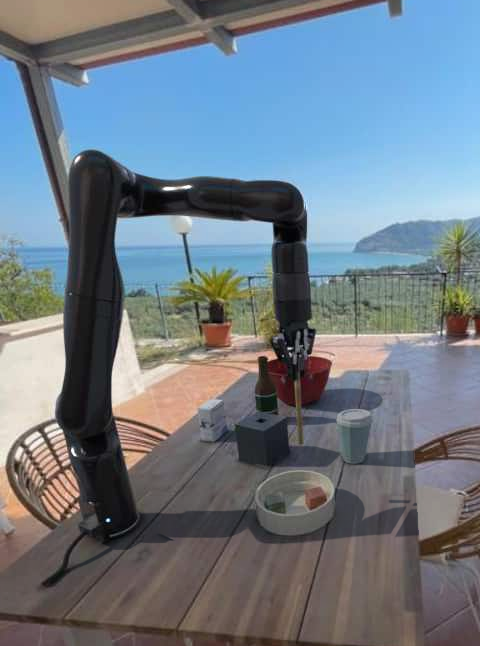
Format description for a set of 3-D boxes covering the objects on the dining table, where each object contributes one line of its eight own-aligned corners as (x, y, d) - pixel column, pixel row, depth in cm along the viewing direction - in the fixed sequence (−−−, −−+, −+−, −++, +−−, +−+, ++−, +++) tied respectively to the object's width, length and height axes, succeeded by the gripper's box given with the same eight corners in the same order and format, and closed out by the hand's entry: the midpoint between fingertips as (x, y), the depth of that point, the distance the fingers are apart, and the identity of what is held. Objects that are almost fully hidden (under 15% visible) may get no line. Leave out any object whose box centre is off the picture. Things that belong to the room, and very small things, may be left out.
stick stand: (267, 469, 111) (264, 431, 107) (239, 460, 115) (234, 424, 111) (289, 452, 120) (286, 417, 116) (262, 445, 124) (258, 411, 120)
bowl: (308, 548, 81) (306, 525, 79) (240, 523, 89) (237, 501, 87) (348, 501, 97) (347, 480, 95) (287, 483, 104) (286, 464, 102)
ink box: (215, 429, 135) (210, 398, 131) (228, 431, 134) (224, 399, 130) (201, 440, 127) (195, 407, 123) (215, 442, 126) (210, 409, 122)
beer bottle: (253, 423, 140) (246, 358, 132) (264, 415, 147) (258, 353, 138) (272, 426, 138) (266, 360, 129) (282, 417, 145) (278, 355, 136)
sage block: (268, 519, 89) (267, 505, 87) (266, 509, 92) (264, 495, 91) (286, 515, 90) (285, 501, 89) (282, 505, 94) (281, 491, 92)
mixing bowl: (253, 410, 151) (249, 372, 146) (278, 386, 178) (275, 353, 172) (324, 414, 148) (323, 375, 142) (338, 389, 174) (338, 356, 168)
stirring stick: (302, 447, 88) (297, 358, 81) (292, 445, 89) (287, 356, 82) (308, 442, 90) (304, 355, 83) (299, 440, 92) (294, 353, 84)
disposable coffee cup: (329, 458, 117) (328, 412, 111) (355, 446, 124) (354, 402, 118) (354, 471, 110) (354, 423, 104) (379, 458, 117) (380, 412, 111)
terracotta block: (310, 513, 91) (309, 499, 90) (305, 504, 94) (304, 490, 93) (326, 509, 93) (326, 495, 91) (321, 499, 96) (320, 486, 94)
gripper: (296, 292, 85) (300, 368, 92) (254, 298, 74) (262, 385, 80) (326, 293, 82) (328, 372, 88) (286, 301, 71) (292, 390, 77)
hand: (296, 377), depth 84 cm, fingers closed on stirring stick, 2 cm apart
